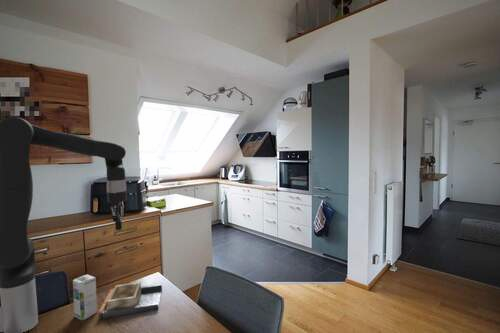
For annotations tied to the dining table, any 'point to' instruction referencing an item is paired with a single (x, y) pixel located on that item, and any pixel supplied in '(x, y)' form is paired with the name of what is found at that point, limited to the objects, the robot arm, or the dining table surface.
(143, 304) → the bay
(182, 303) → the dining table surface
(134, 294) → the box
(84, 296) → the syrup box
